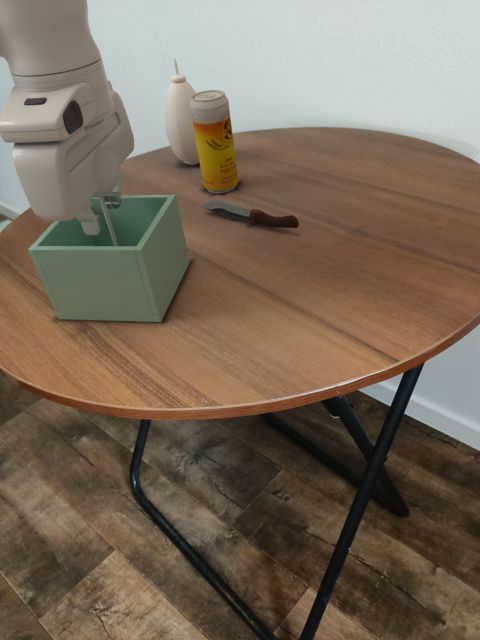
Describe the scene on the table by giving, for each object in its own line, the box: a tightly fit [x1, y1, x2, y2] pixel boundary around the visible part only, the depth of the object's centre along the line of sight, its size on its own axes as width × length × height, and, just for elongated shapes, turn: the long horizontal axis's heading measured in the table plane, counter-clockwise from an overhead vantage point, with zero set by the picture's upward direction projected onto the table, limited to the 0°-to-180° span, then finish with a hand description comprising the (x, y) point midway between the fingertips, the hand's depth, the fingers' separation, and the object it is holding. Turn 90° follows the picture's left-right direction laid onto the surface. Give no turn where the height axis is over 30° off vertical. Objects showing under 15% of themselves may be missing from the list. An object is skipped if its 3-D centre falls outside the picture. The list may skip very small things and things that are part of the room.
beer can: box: [190, 89, 239, 194], centre depth 86 cm, size 6×6×15 cm
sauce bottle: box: [163, 58, 200, 166], centre depth 94 cm, size 8×8×18 cm
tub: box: [27, 194, 191, 323], centre depth 66 cm, size 14×14×10 cm
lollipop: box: [92, 146, 121, 246], centre depth 61 cm, size 6×6×15 cm
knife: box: [200, 198, 300, 229], centre depth 79 cm, size 18×2×3 cm, turn 55°
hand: (105, 219), depth 62 cm, fingers closed on lollipop, 5 cm apart
